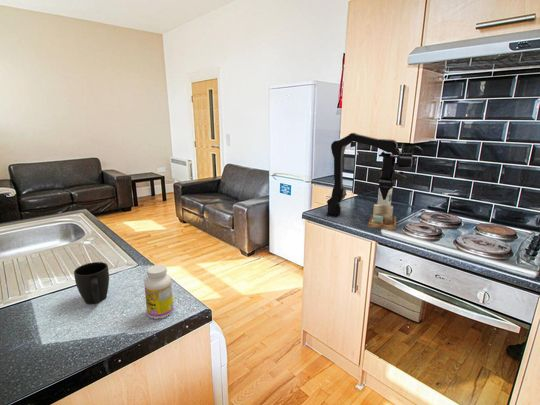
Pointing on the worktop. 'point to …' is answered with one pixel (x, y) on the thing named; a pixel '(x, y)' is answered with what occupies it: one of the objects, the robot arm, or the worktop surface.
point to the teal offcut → (378, 218)
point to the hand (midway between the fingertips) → (384, 197)
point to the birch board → (383, 211)
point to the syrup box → (388, 198)
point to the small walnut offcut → (388, 221)
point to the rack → (383, 226)
